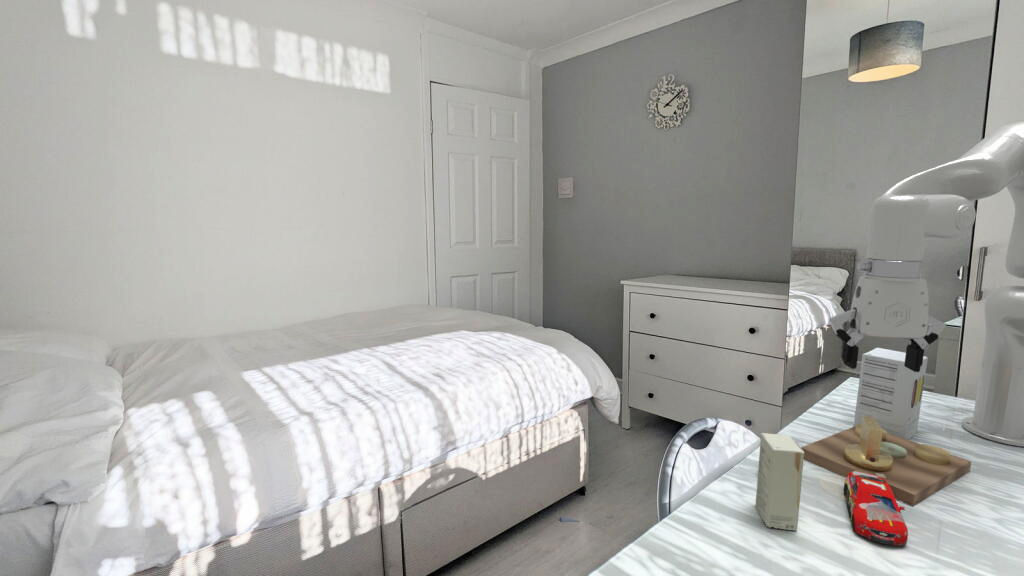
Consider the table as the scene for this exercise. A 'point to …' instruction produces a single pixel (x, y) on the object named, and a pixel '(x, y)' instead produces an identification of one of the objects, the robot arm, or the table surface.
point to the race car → (874, 509)
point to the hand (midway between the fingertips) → (880, 367)
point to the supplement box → (890, 392)
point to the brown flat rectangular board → (912, 467)
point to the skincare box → (779, 481)
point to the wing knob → (869, 448)
